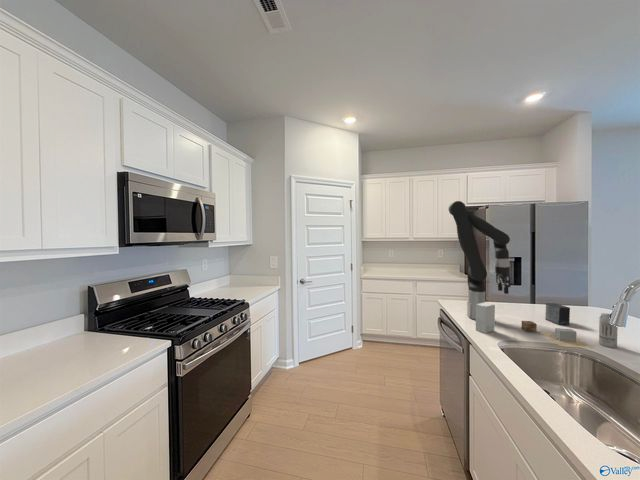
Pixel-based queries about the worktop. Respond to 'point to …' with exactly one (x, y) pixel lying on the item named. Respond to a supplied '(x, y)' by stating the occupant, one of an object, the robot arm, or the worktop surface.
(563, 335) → the grey block
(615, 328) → the energy drink can
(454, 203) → the robot arm
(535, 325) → the walnut cube
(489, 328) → the skincare box
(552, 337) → the letter
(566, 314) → the small box
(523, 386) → the worktop surface
